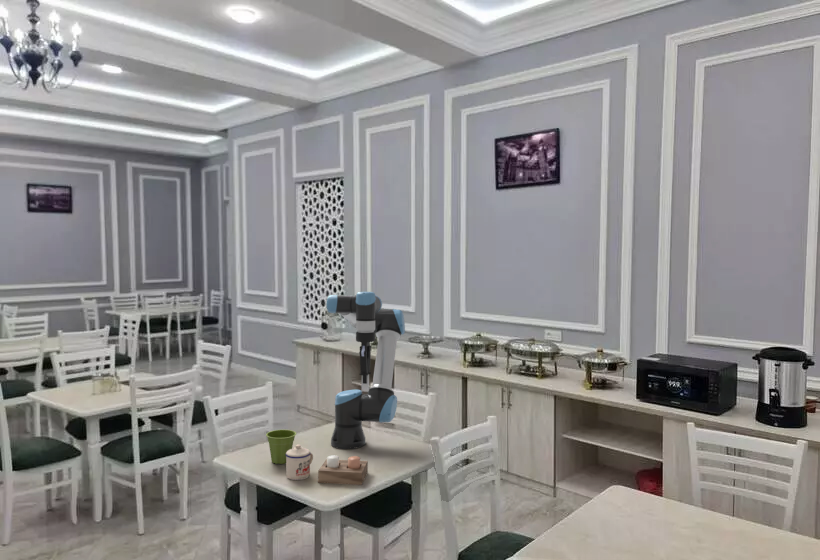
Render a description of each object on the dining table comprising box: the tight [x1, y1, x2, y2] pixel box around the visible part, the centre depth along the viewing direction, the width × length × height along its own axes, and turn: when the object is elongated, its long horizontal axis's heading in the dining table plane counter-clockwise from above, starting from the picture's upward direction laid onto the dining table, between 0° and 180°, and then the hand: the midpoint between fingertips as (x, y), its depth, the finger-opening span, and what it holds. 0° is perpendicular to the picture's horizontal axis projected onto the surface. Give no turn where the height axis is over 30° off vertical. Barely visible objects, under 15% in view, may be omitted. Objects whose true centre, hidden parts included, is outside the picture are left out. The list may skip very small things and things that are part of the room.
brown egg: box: [347, 455, 361, 469], centre depth 212 cm, size 4×4×6 cm
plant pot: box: [265, 429, 297, 465], centre depth 230 cm, size 12×12×11 cm
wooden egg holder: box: [317, 458, 369, 486], centre depth 213 cm, size 12×16×4 cm
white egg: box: [326, 454, 340, 468], centre depth 213 cm, size 4×4×6 cm
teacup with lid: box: [285, 444, 314, 481], centre depth 216 cm, size 12×9×12 cm
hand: (365, 391), depth 225 cm, fingers closed
